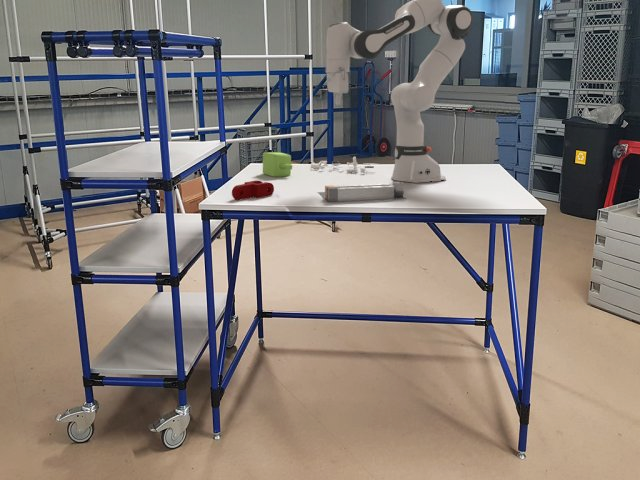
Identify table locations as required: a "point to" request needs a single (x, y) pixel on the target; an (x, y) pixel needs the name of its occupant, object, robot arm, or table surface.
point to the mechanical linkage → (252, 190)
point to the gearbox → (276, 164)
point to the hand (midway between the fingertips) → (337, 104)
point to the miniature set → (323, 163)
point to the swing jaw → (352, 186)
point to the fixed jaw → (366, 193)
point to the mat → (353, 201)
